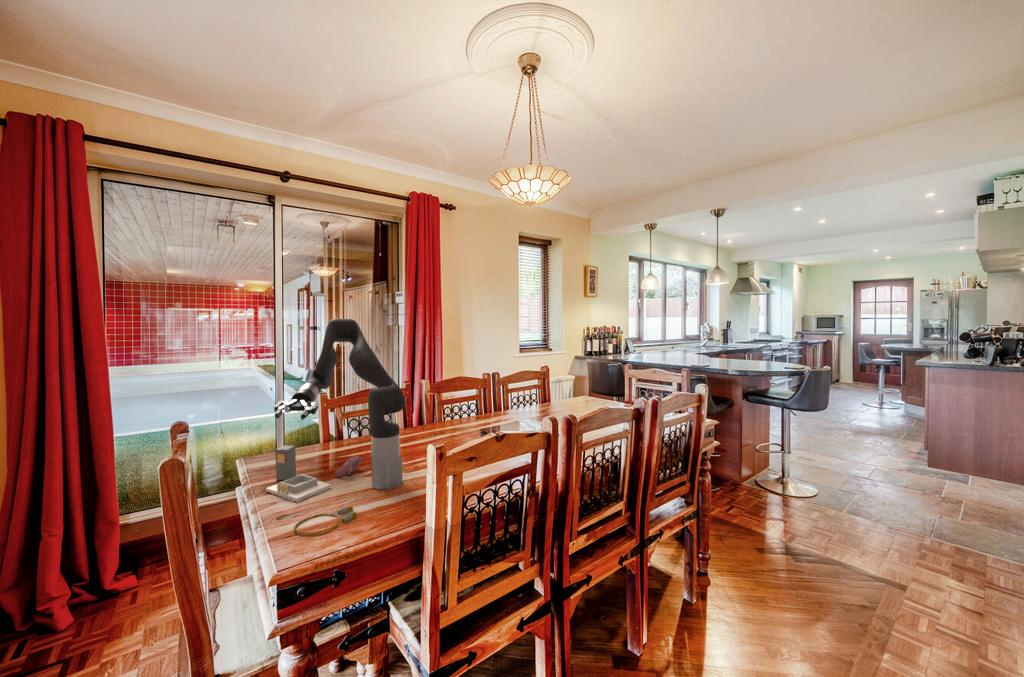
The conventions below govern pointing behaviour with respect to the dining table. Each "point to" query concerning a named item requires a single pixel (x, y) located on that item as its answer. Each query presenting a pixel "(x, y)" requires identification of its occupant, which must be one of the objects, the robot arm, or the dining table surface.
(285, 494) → the board
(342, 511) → the extension cord
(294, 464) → the block
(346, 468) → the purple lumpy piece
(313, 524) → the dining table surface
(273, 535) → the dining table surface
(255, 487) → the dining table surface
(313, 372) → the robot arm
